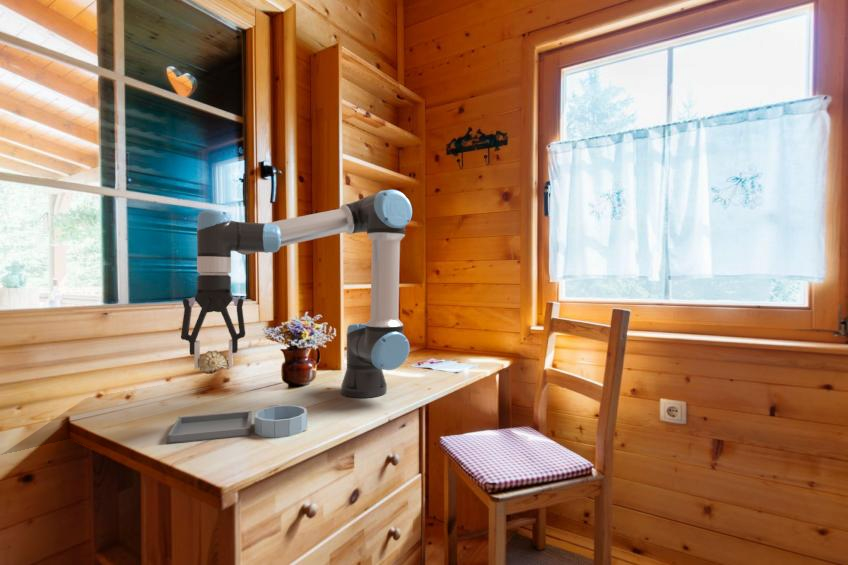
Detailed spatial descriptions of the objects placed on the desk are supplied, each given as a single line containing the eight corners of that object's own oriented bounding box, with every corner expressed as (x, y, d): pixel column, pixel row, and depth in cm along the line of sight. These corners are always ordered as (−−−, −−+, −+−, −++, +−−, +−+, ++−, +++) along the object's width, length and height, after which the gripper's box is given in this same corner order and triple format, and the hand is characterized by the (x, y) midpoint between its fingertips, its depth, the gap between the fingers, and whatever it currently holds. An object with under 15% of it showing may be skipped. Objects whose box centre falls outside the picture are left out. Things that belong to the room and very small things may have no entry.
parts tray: (251, 417, 117) (251, 410, 117) (249, 435, 104) (249, 428, 104) (178, 424, 111) (178, 417, 111) (166, 444, 98) (166, 436, 98)
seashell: (191, 383, 107) (206, 371, 101) (187, 360, 109) (201, 347, 102) (222, 378, 113) (238, 366, 107) (218, 356, 114) (234, 343, 108)
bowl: (304, 418, 117) (304, 403, 117) (308, 434, 106) (308, 417, 105) (255, 422, 113) (255, 407, 113) (253, 439, 101) (254, 422, 101)
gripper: (257, 274, 114) (257, 361, 114) (171, 274, 107) (172, 366, 108) (256, 274, 107) (256, 367, 107) (165, 274, 100) (165, 372, 101)
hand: (214, 366), depth 108 cm, fingers closed on seashell, 7 cm apart
